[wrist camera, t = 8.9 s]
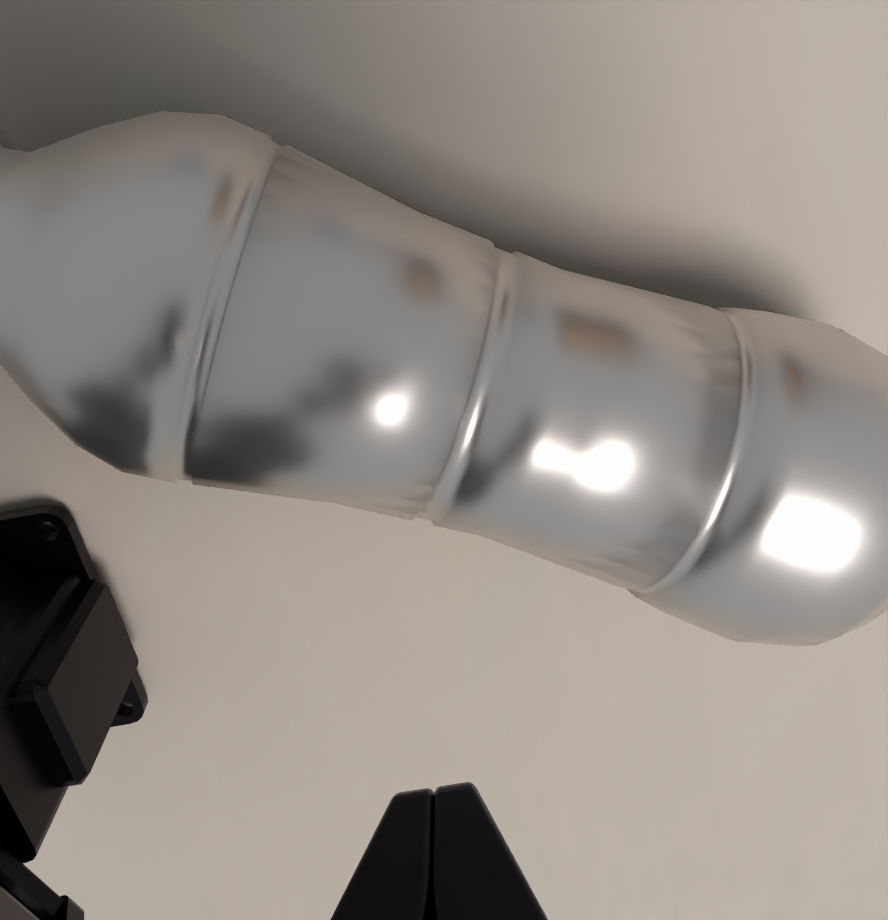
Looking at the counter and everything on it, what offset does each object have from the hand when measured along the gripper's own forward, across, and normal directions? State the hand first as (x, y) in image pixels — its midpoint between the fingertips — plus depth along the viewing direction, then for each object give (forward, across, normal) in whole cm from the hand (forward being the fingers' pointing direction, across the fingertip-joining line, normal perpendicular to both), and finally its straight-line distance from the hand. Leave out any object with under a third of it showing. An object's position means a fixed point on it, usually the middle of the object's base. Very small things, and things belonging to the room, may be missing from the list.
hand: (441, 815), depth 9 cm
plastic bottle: (+9, -9, +3) cm, 13 cm away
